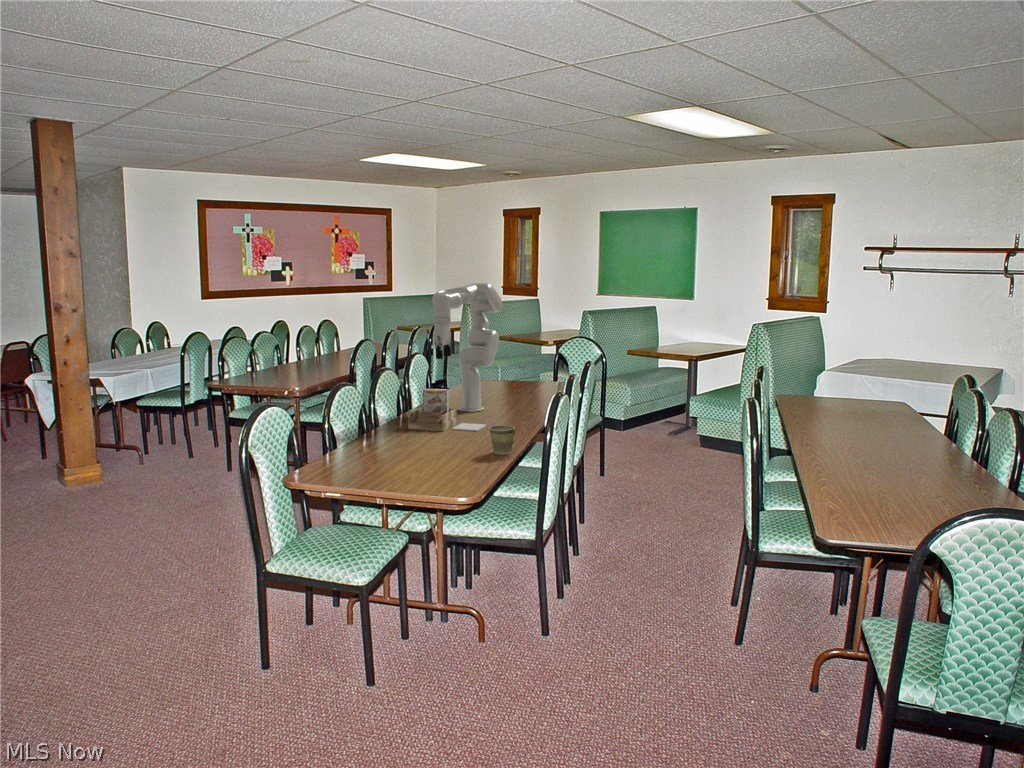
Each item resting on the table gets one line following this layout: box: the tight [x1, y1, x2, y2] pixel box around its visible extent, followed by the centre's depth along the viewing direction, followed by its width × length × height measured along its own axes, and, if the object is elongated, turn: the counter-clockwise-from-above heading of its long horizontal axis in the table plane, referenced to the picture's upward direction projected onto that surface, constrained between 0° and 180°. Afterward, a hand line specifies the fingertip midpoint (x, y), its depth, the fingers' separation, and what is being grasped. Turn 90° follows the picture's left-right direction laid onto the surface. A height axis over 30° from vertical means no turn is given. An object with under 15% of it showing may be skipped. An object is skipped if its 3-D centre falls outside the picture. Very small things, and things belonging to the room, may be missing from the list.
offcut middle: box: [417, 418, 441, 424], centre depth 337 cm, size 6×11×2 cm, turn 70°
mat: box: [451, 422, 487, 432], centre depth 338 cm, size 12×12×1 cm
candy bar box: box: [422, 388, 450, 415], centre depth 344 cm, size 11×5×16 cm, turn 83°
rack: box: [407, 406, 458, 432], centre depth 341 cm, size 17×17×7 cm
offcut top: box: [418, 412, 441, 420], centre depth 337 cm, size 5×9×2 cm, turn 79°
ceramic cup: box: [488, 424, 524, 456], centre depth 292 cm, size 13×10×10 cm
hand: (443, 357), depth 350 cm, fingers open, 9 cm apart
